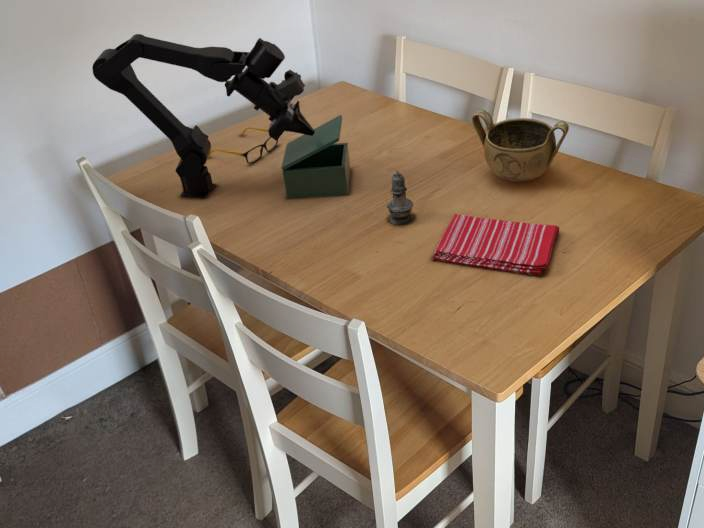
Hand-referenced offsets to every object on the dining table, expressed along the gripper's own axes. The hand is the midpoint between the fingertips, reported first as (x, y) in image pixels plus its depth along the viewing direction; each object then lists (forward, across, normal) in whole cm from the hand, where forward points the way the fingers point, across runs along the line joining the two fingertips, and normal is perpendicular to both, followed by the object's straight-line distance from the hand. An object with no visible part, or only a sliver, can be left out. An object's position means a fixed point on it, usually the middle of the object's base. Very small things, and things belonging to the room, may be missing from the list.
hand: (313, 133), depth 187 cm
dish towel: (+38, -32, -18) cm, 53 cm away
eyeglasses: (-6, +20, +25) cm, 33 cm away
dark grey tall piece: (+23, -18, -4) cm, 30 cm away
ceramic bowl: (+43, -2, -24) cm, 49 cm away
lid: (+1, 0, +2) cm, 3 cm away
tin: (+9, 0, +10) cm, 13 cm away
